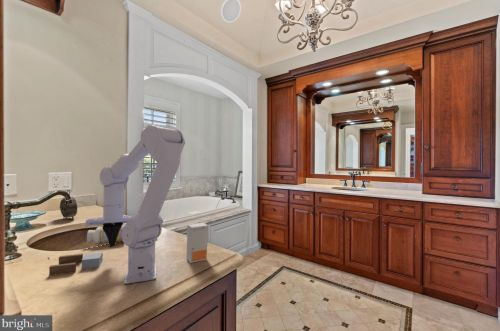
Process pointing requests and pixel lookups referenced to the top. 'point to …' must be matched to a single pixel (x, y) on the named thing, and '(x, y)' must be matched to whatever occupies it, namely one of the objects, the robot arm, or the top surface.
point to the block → (92, 260)
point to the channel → (66, 264)
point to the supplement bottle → (101, 236)
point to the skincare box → (197, 242)
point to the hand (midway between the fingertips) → (112, 245)
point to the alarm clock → (68, 208)
